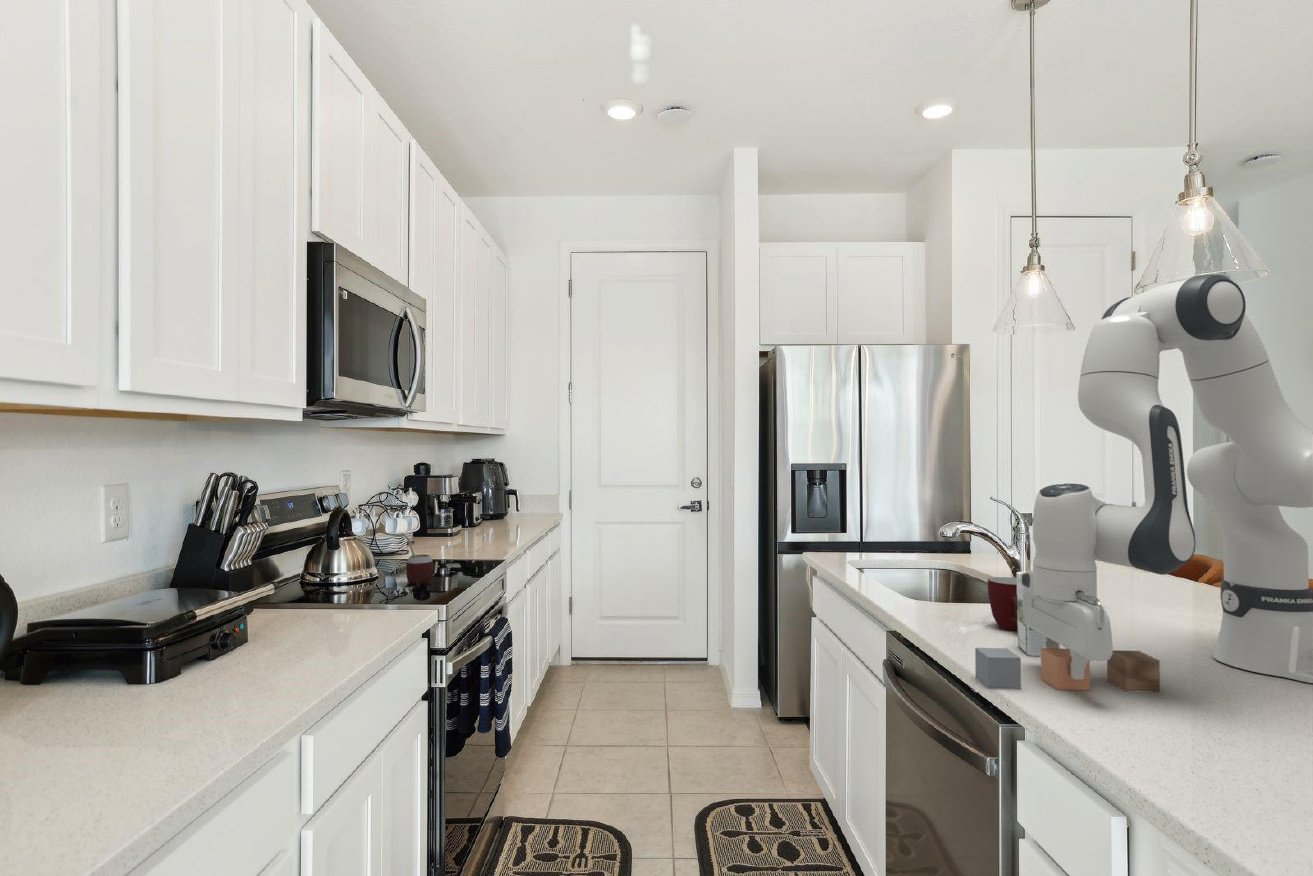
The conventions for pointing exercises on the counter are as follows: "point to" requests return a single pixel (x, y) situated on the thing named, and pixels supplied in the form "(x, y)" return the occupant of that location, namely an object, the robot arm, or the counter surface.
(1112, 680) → the walnut block
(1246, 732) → the counter surface
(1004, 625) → the mug
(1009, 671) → the slate block
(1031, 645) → the syrup box
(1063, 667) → the terracotta block
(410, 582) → the mate gourd
